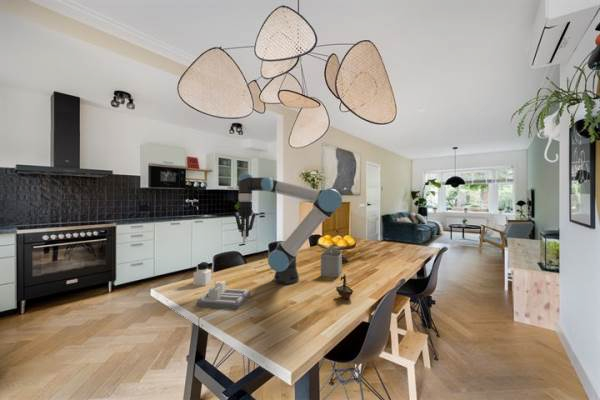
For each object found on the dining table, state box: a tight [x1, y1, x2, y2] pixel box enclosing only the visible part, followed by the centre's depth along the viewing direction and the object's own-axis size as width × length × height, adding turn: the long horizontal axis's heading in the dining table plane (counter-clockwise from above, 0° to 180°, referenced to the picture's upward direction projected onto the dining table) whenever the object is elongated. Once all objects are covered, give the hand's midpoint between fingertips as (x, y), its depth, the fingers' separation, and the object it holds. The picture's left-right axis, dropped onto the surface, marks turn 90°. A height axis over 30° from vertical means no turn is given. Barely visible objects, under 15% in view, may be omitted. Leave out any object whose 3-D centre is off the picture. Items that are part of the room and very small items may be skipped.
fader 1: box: [208, 285, 221, 300], centre depth 112 cm, size 4×4×5 cm
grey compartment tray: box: [196, 288, 251, 310], centre depth 116 cm, size 20×16×3 cm
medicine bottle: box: [193, 261, 212, 287], centre depth 138 cm, size 7×7×12 cm
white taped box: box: [214, 280, 227, 293], centre depth 120 cm, size 4×4×5 cm
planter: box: [320, 244, 343, 279], centre depth 154 cm, size 16×8×19 cm, turn 116°
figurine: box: [335, 274, 354, 299], centre depth 120 cm, size 10×8×12 cm
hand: (245, 242), depth 136 cm, fingers closed
